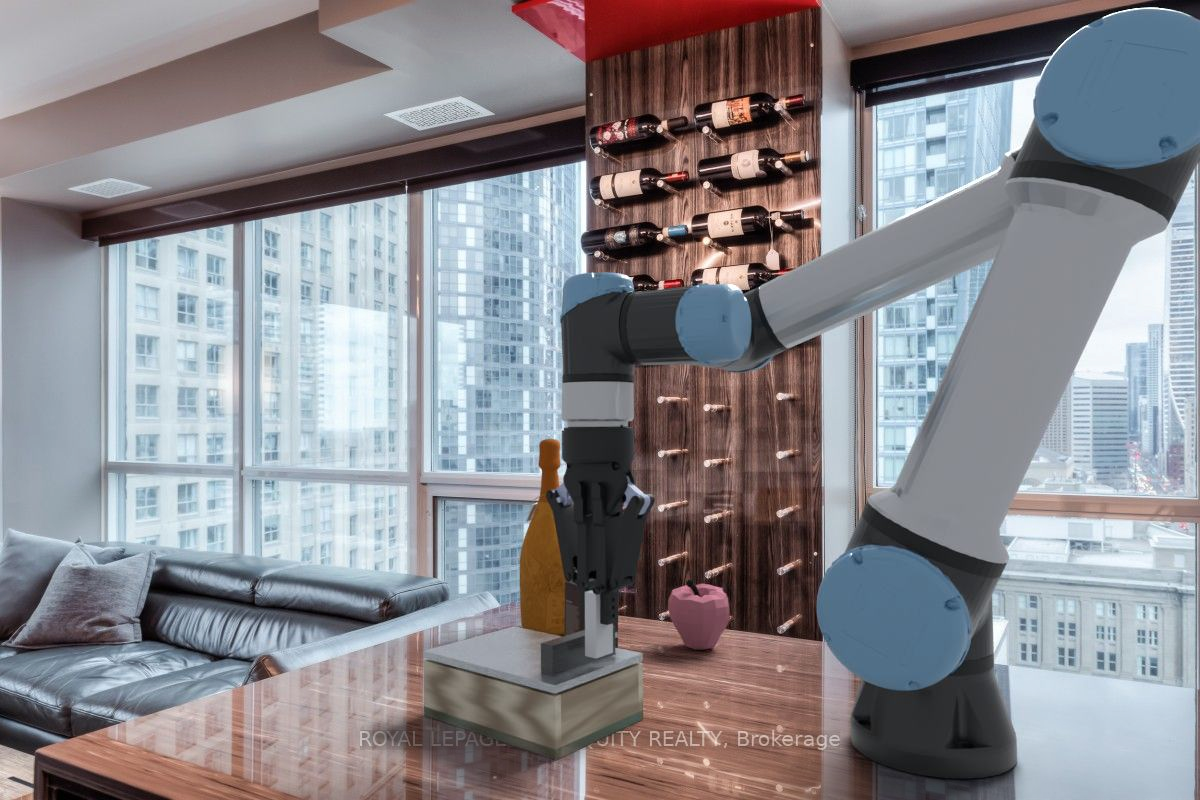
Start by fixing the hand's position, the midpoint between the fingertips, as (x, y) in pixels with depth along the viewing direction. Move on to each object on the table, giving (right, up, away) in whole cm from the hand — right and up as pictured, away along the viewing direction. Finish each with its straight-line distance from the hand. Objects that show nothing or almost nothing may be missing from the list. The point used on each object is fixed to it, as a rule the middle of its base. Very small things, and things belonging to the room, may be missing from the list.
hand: (599, 654), depth 85 cm
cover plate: (-7, -3, +6) cm, 10 cm away
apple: (+14, -10, +34) cm, 38 cm away
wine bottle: (-8, -10, +45) cm, 46 cm away
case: (-7, -9, +6) cm, 13 cm away
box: (-1, -9, +21) cm, 23 cm away
